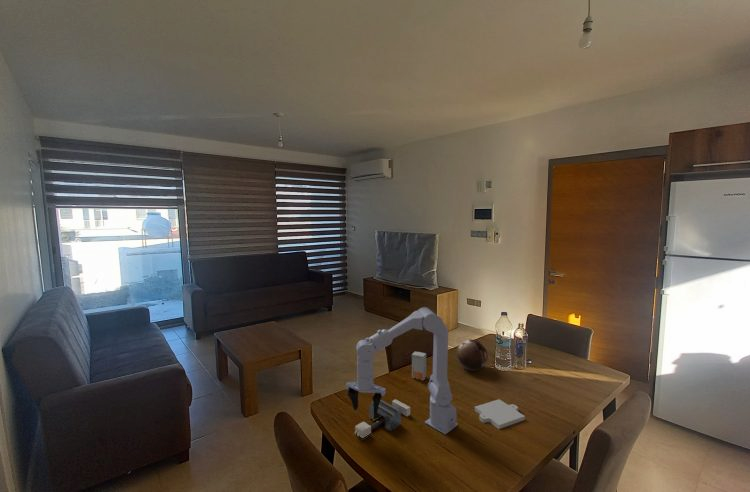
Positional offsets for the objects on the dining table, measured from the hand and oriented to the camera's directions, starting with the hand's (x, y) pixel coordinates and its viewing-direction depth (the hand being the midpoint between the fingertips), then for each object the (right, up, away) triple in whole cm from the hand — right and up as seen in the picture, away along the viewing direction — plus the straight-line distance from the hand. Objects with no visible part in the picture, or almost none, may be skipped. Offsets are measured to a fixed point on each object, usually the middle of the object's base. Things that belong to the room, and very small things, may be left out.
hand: (365, 410), depth 119 cm
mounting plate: (+52, -7, +10) cm, 53 cm away
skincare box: (+25, -5, +41) cm, 48 cm away
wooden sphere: (+52, -4, +49) cm, 72 cm away
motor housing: (+7, -8, +7) cm, 13 cm away
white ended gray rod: (+6, -8, +6) cm, 11 cm away
